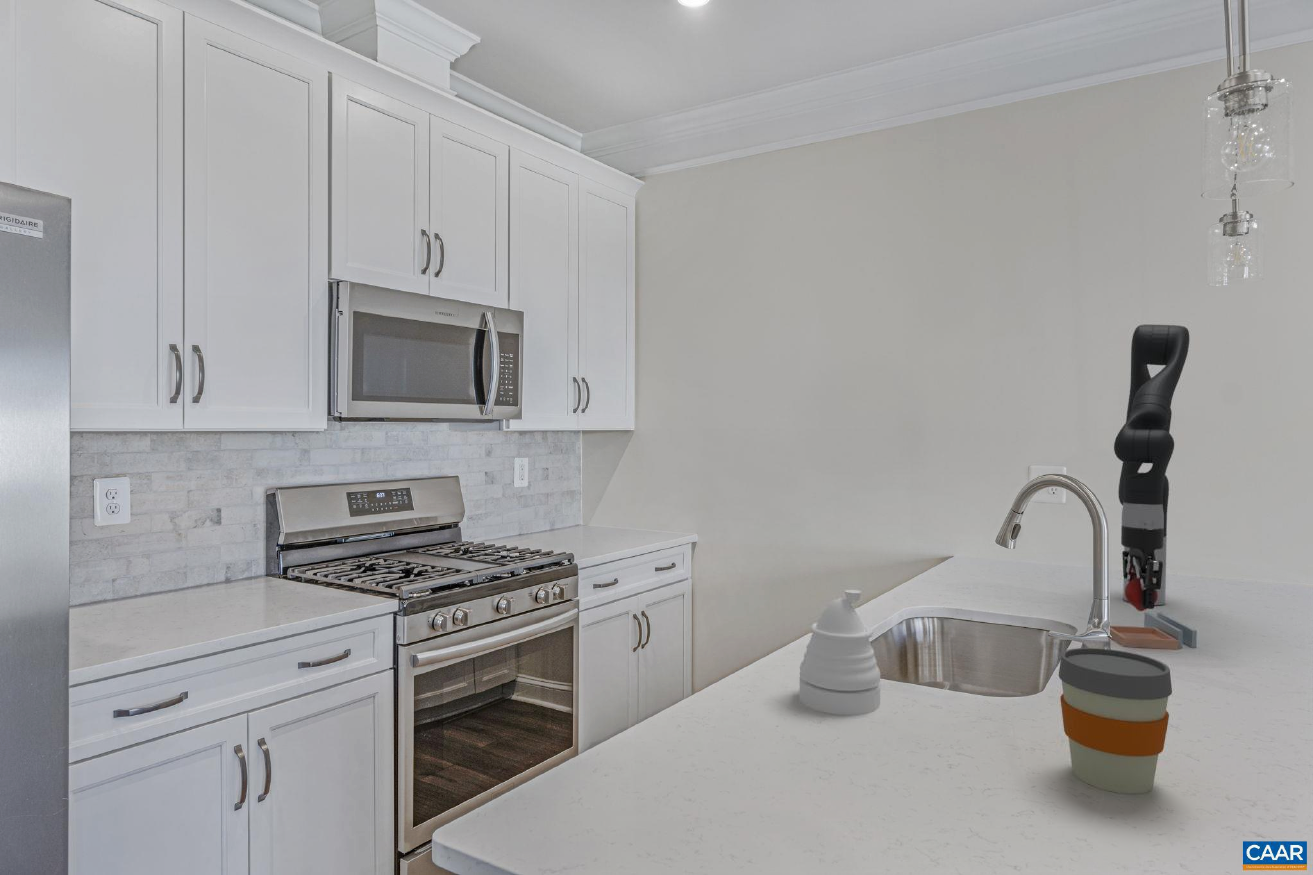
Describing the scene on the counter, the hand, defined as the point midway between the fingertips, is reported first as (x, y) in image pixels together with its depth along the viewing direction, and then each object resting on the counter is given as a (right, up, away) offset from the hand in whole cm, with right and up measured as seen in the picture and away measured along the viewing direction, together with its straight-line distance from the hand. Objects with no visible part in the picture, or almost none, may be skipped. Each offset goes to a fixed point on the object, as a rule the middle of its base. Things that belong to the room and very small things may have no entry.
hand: (1140, 604), depth 165 cm
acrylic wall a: (+10, -8, +3) cm, 13 cm away
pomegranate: (0, -2, 0) cm, 2 cm away
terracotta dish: (0, -8, 0) cm, 8 cm away
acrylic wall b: (+7, -8, +3) cm, 11 cm away
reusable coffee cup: (-43, -9, -64) cm, 78 cm away
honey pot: (-72, -8, -37) cm, 81 cm away
